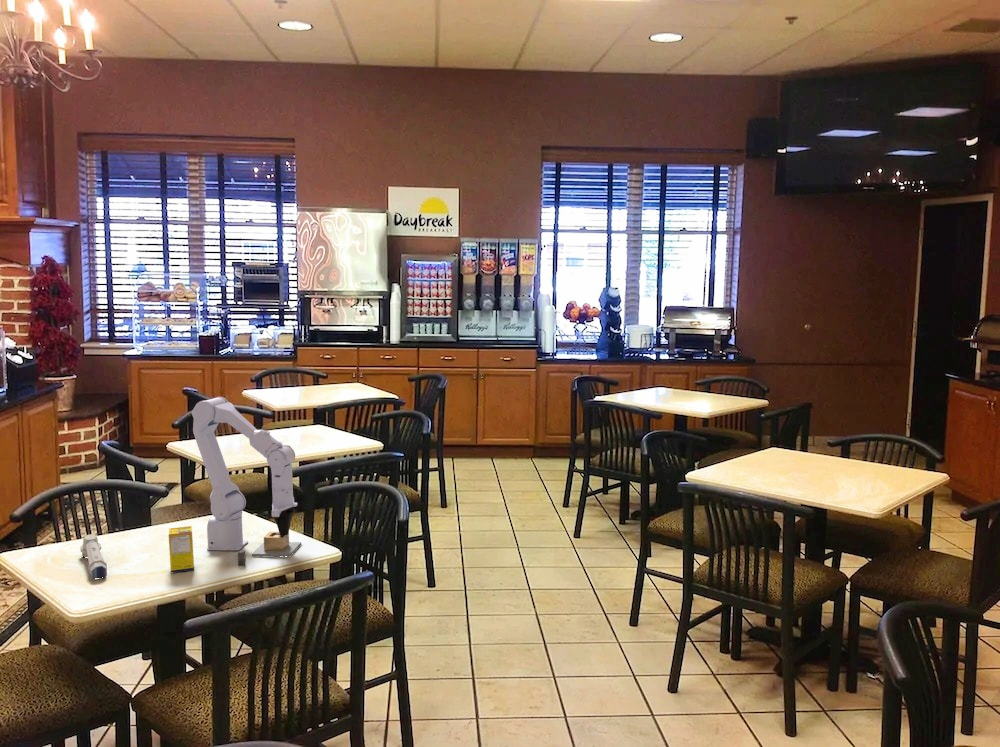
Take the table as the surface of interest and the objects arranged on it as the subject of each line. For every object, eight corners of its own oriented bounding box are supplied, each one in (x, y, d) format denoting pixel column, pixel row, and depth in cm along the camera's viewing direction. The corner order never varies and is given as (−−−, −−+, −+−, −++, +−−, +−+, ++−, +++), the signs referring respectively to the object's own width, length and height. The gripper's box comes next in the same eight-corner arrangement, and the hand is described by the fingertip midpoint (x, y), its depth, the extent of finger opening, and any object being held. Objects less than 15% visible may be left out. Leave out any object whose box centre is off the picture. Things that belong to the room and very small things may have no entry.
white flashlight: (87, 567, 218) (78, 530, 238) (88, 591, 219) (79, 552, 240) (109, 564, 220) (99, 528, 241) (110, 587, 222) (100, 549, 243)
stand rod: (236, 565, 230) (236, 553, 229) (239, 563, 232) (238, 550, 231) (243, 565, 230) (243, 553, 229) (246, 563, 232) (246, 550, 231)
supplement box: (193, 563, 231) (191, 525, 230) (194, 570, 226) (192, 531, 225) (170, 566, 229) (168, 527, 228) (170, 573, 224) (168, 534, 223)
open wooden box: (264, 551, 239) (263, 537, 239) (270, 544, 245) (269, 531, 245) (283, 551, 239) (283, 537, 239) (289, 545, 245) (288, 531, 244)
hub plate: (251, 556, 237) (251, 541, 237) (264, 544, 248) (264, 530, 248) (289, 557, 237) (289, 542, 236) (301, 544, 247) (300, 530, 247)
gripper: (288, 495, 233) (290, 542, 234) (303, 482, 247) (305, 527, 249) (263, 494, 233) (265, 542, 235) (280, 482, 247) (281, 526, 249)
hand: (284, 534), depth 242 cm, fingers closed
